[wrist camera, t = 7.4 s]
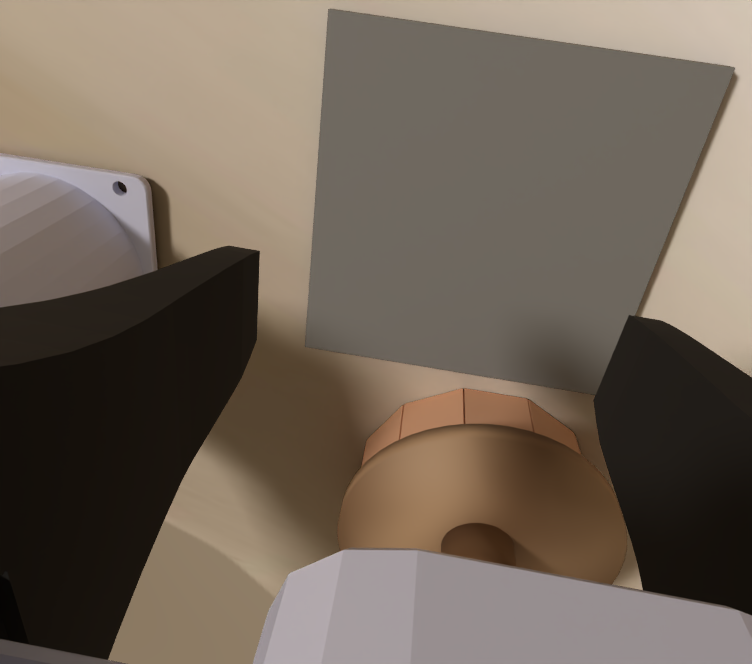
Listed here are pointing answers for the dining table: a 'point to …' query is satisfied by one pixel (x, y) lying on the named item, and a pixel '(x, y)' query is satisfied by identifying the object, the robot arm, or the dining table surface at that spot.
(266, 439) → the dining table surface
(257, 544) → the dining table surface
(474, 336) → the mat
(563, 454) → the lid
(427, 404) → the bowl
